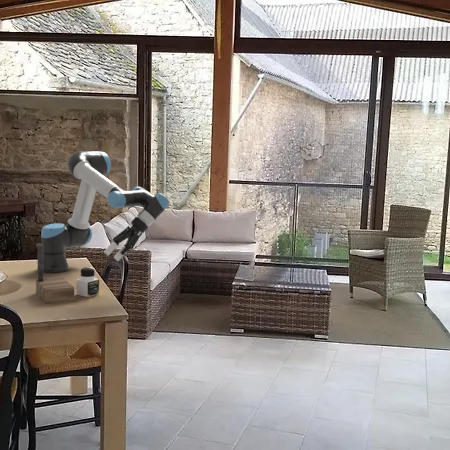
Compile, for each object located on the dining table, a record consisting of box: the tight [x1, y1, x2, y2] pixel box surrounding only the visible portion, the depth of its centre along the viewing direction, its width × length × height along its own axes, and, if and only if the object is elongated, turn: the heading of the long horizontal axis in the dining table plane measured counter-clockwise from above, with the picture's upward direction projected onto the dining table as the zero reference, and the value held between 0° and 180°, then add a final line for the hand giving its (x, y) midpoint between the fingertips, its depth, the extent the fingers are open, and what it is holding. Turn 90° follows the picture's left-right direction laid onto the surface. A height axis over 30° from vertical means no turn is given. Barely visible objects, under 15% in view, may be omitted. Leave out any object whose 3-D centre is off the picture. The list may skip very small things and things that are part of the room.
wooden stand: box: [35, 243, 75, 305], centre depth 266 cm, size 20×12×22 cm, turn 29°
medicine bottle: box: [75, 266, 100, 298], centre depth 272 cm, size 7×7×12 cm
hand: (110, 256), depth 275 cm, fingers open, 13 cm apart
